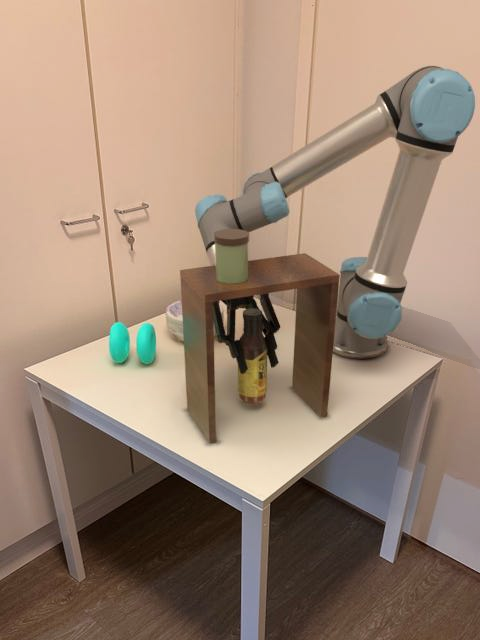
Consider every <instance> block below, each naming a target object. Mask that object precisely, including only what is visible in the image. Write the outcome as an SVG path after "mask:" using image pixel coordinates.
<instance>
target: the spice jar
mask: <svg viewBox="0 0 480 640" xmlns="http://www.w3.org/2000/svg"><path fill="white" fill-rule="evenodd" d="M214 242H215V270H216V280H217V281H219V282H222V283H227V284H237V283H242V282H245V281H246V280H247V279H248V261H249V242H250V232H247V231H245V230H240V229H223V230H219V231H216V232H215V233H214Z"/></svg>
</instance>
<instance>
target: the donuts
mask: <svg viewBox="0 0 480 640" xmlns="http://www.w3.org/2000/svg"><path fill="white" fill-rule="evenodd" d="M155 329H156V328H155V326H154V325H153V324H152V323H150V322H144V323H142V324H141V325H140V326H139V328H138V330H137V334H136V343H135V344H136V353H137V356H138V359H139V360H140V362H142V364H145V365H150V364H152V363H153V361H154V360H155V357H156V351H157V335H156V330H155ZM129 332H130V331H129V329H128V327H127V326H126V324H124V322H121V321H116V322H114V323H113V324H112V326H111V328H110V331H109V336H108V349H109V355H110V358H111V360H112V361H113V362H114V363H115V364H122V363H123V362H125V361H126V360H127V358H128V356H129V354H130V347H131V339H130V333H129Z"/></svg>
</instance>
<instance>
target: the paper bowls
mask: <svg viewBox="0 0 480 640" xmlns="http://www.w3.org/2000/svg"><path fill="white" fill-rule="evenodd" d="M219 306H220V311H221V315H222V320H223V325H224V323H225V322H224V321H225V316H224V315H225V314H224V312H225V311H224V307H223V306H222V305H221V304H220V303H219ZM165 322H166V323H165V324H166V329H167V331H168V332H169V333H170V334H172V335H174V336H176V338H177V339H178V340H179V341H181V342H182V343H184V335H183V316H182V299H180V300H178V301H177V300H176V301H174V302H172V303H170V304H168V306H167V307H166V310H165ZM213 324H214V322H213ZM224 326H225V325H224ZM214 337H216V331H215V327H214Z"/></svg>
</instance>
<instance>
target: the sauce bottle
mask: <svg viewBox="0 0 480 640" xmlns="http://www.w3.org/2000/svg"><path fill="white" fill-rule="evenodd" d="M259 309H260V308H259ZM259 309H255V308H251V309H244V310H242V319H243V328H242V332H243V333H242V334H241V336H239V338H238V340H239V341H240V344H241V347H242V351H243V354H244V357H245V361H246V364H247V367H248V370H247V371H246V372H245V373H244V374H241V373H240V369H239V366H238V365H237V392H238V398H239V399H240V401H241V402H242V403H246V404H258V403H261V402H263V401H264V400H265V399H266V398H267V390H268V388H267V386H268V355H267V345H266V342H265V339H264V337H265V335H264V334H263V332H262V318H263V315H264V313H263V310H261V309H260V310H259ZM262 313H263V314H262Z"/></svg>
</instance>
